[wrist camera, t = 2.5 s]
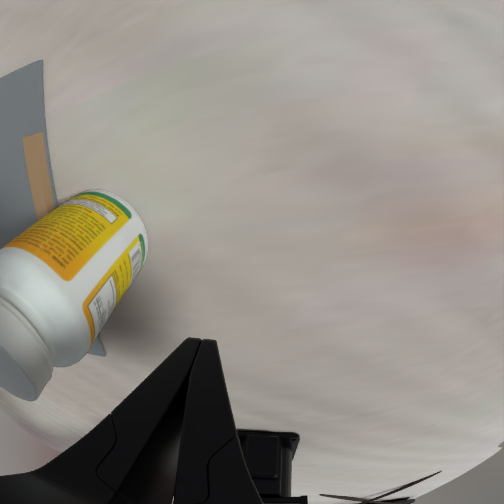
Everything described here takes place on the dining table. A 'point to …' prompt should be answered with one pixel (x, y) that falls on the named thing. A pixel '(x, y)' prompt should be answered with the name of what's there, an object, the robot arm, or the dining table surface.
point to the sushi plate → (377, 503)
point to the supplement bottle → (64, 286)
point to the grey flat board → (25, 158)
